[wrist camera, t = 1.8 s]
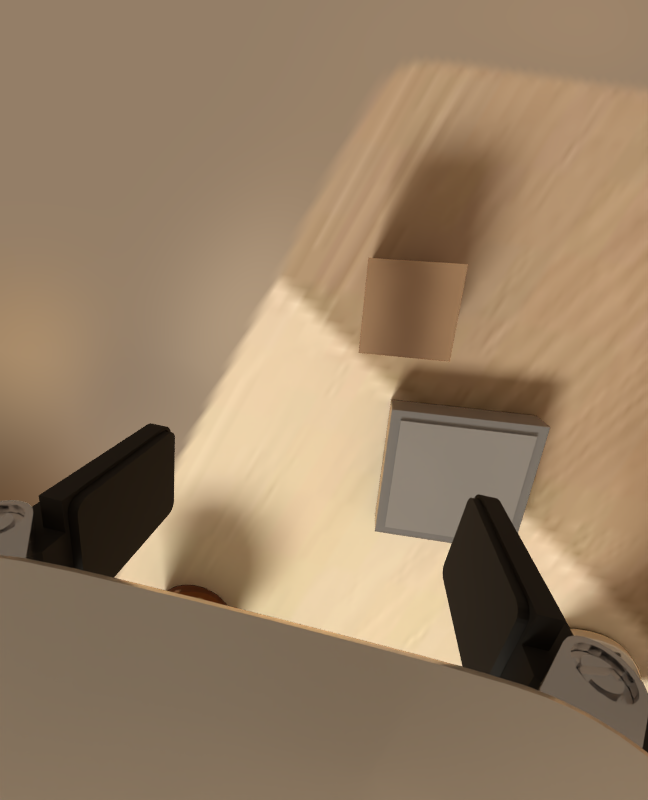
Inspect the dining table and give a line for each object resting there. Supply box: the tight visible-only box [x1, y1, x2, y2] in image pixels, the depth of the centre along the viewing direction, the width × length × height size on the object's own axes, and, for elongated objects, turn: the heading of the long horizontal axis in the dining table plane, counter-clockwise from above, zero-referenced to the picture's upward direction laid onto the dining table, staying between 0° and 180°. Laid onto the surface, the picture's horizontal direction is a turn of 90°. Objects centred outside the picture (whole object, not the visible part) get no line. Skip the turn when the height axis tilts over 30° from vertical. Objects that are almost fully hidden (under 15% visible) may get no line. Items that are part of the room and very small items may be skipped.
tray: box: [375, 400, 550, 543], centre depth 31 cm, size 12×12×3 cm
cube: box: [359, 258, 468, 362], centre depth 25 cm, size 6×6×6 cm
